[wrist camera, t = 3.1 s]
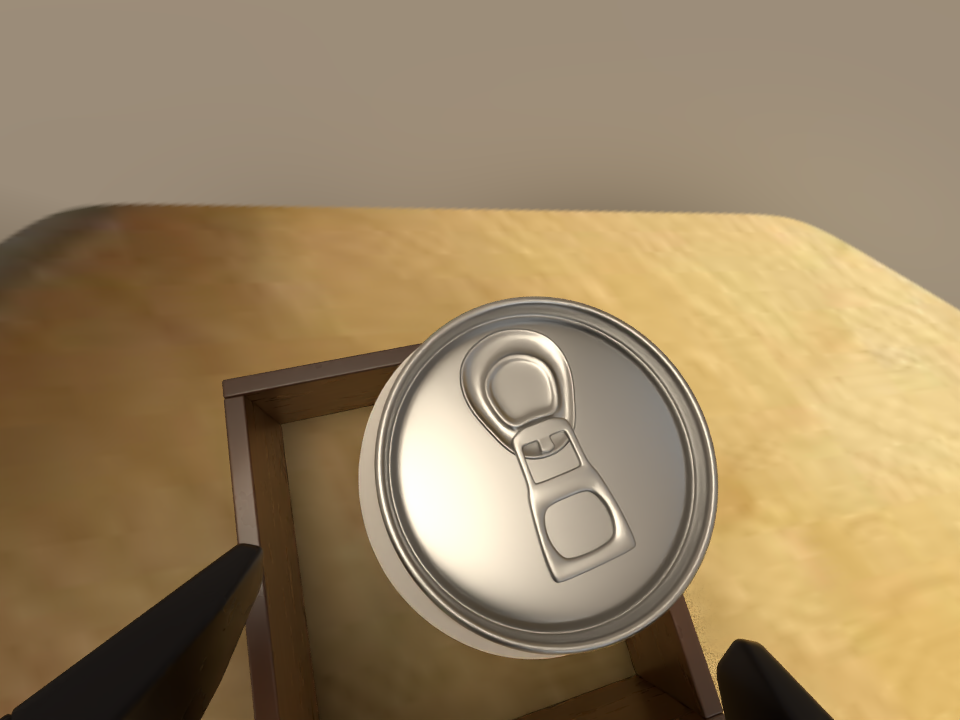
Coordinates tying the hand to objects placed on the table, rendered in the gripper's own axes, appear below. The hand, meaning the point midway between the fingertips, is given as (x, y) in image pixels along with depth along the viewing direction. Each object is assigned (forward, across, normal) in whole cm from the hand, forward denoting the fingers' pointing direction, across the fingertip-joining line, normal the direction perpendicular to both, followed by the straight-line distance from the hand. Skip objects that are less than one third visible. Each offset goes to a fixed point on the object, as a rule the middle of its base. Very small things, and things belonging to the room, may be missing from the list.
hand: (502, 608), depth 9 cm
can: (+9, 0, +5) cm, 10 cm away
